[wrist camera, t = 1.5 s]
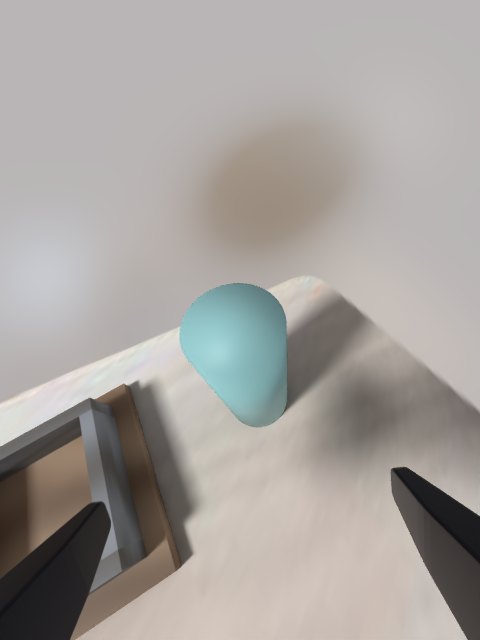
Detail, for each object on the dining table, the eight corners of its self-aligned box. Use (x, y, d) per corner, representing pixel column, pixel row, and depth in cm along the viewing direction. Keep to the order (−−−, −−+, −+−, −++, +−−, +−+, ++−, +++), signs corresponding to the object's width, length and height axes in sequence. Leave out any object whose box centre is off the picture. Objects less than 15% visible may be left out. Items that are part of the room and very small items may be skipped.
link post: (299, 406, 21) (309, 339, 11) (246, 439, 20) (205, 400, 10) (266, 358, 24) (251, 268, 13) (219, 386, 23) (165, 313, 13)
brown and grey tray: (181, 566, 17) (154, 588, 13) (-35, 712, 15) (-128, 780, 12) (129, 386, 24) (103, 372, 21) (-19, 469, 22) (-74, 467, 19)
